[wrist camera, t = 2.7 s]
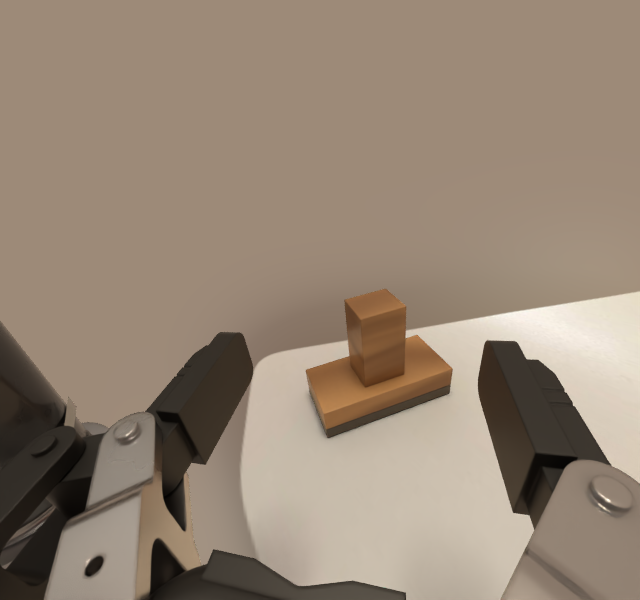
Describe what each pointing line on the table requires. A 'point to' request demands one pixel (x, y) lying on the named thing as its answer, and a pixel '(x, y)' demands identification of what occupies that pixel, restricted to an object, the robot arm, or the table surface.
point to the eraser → (376, 367)
